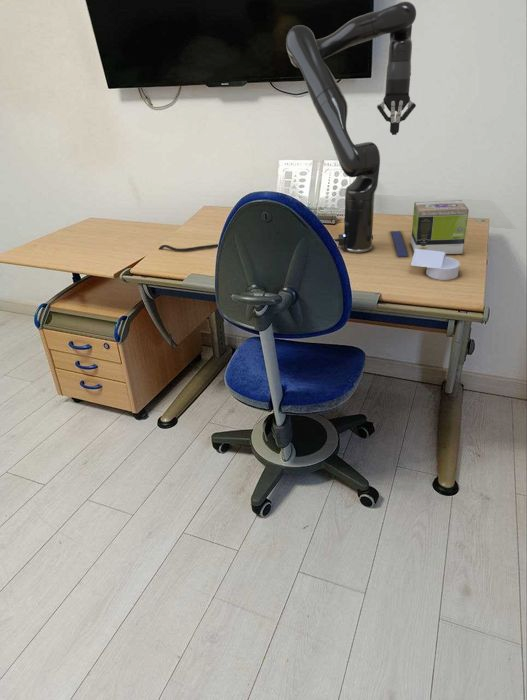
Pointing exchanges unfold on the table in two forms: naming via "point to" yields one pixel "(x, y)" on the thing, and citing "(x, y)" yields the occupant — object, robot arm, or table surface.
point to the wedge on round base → (436, 264)
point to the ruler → (399, 244)
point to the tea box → (439, 226)
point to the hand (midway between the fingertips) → (393, 134)
